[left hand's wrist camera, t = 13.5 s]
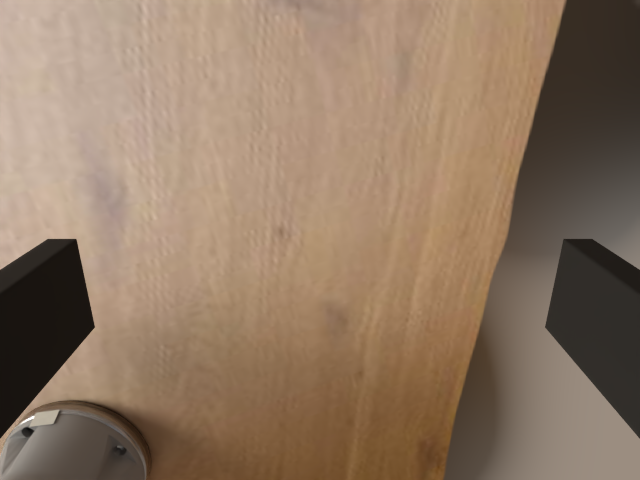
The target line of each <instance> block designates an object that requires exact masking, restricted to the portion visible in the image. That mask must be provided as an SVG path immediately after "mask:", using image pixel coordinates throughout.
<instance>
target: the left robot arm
mask: <svg viewBox="0 0 640 480" xmlns="http://www.w3.org/2000/svg"><path fill="white" fill-rule="evenodd" d="M94 328H95V326H94V321H93V316H92V311H91V307H90V302H89V297H88V292H87V288H86V283H85V278H84V273H83V268H82V264H81V259H80V254H79V249H78V245H77V240H76V239H47V240H46V241H44V242H43V243H41V244H40V245H38V246H36V247H35V248H33V249H32V250H30V251H29V252H27V253H26V254H24V255H23V256H21V257H19V258H18V259H16V260H15V261H13V262H12V263H10V264H9V265H7V266H6V267H4V268H3V269H1V270H0V438H1V437H2V436H3V435H4V433H5V432H6V431H7V430H8V429H9V428H10V426H11V425H12V424H13V423H14V422H15V421H16V419H17V418H18V417H19V416H20V415H21V413H22V412H23V411H24V410H25V409H26V408H27V406H28V405H29V404H30V403H31V402H32V401H33V399H34V398H35V397H36V396H37V395H38V393H39V392H40V391H41V390H42V389H43V388H44V386H45V385H46V384H47V383H48V382H49V381H50V379H51V378H52V377H53V376H54V375H55V373H56V372H57V371H58V370H59V369H60V368H61V366H62V365H63V364H64V363H65V362H66V361H67V359H68V358H69V357H70V356H71V355H72V353H73V352H74V351H75V350H76V349H77V348H78V346H79V345H80V344H81V343H82V342H83V341H84V339H85V338H86V337H87V336H88V335H89V333H90V332H91V331H92V330H93V329H94ZM545 328H546V329H547V330H548V331H549V332H550V333H551V335H552V336H553V337H554V338H555V339H556V341H557V342H558V343H559V344H560V345H561V346H562V348H563V349H564V350H565V351H566V352H567V353H568V355H569V356H570V357H571V358H572V359H573V361H574V362H575V363H576V364H577V365H578V366H579V368H580V369H581V370H582V371H583V372H584V373H585V375H586V376H587V377H588V378H589V379H590V380H591V382H592V383H593V384H594V385H595V386H596V388H597V389H598V390H599V391H600V392H601V393H602V395H603V396H604V397H605V398H606V399H607V401H608V402H609V403H610V404H611V405H612V406H613V408H614V409H615V410H616V411H617V412H618V413H619V415H620V416H621V417H622V418H623V419H624V421H625V422H626V423H627V424H628V425H629V426H630V428H631V429H632V430H633V431H634V432H635V433H636V435H637V436H638V437H639V438H640V270H639V269H637V268H636V267H634V266H633V265H631V264H630V263H628V262H627V261H625V260H624V259H622V258H621V257H619V256H617V255H616V254H614V253H613V252H611V251H610V250H608V249H607V248H605V247H604V246H602V245H600V244H599V243H597V242H596V241H594V240H593V239H564V240H563V245H562V249H561V254H560V259H559V264H558V268H557V273H556V278H555V283H554V288H553V292H552V297H551V302H550V307H549V311H548V316H547V321H546V326H545ZM150 469H151V456H150V452H149V448H148V446H147V444H146V442H145V440H144V438H143V437H142V435H141V434H140V433H139V432H138V430H137V429H136V428H135V427H134V426H133V425H132V424H131V423H129V422H128V421H127V420H126V419H124V418H123V417H121V416H120V415H118V414H116V413H114V412H112V411H110V410H108V409H106V408H103V407H101V406H97V405H94V404H90V403H85V402H77V401H61V402H54V403H50V404H46V405H43V406H40V407H38V408H36V409H34V410H33V411H31V412H30V413H28V414H27V415H26V416H25V417H24V418H23V419H22V420H21V421H20V422H19V423H18V425H17V426H16V427H15V428H14V429H13V431H12V432H11V433H10V434H9V436H8V438H7V439H6V442H5V444H4V447H3V450H2V453H1V455H0V480H147V478H148V475H149V473H150Z"/></svg>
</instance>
